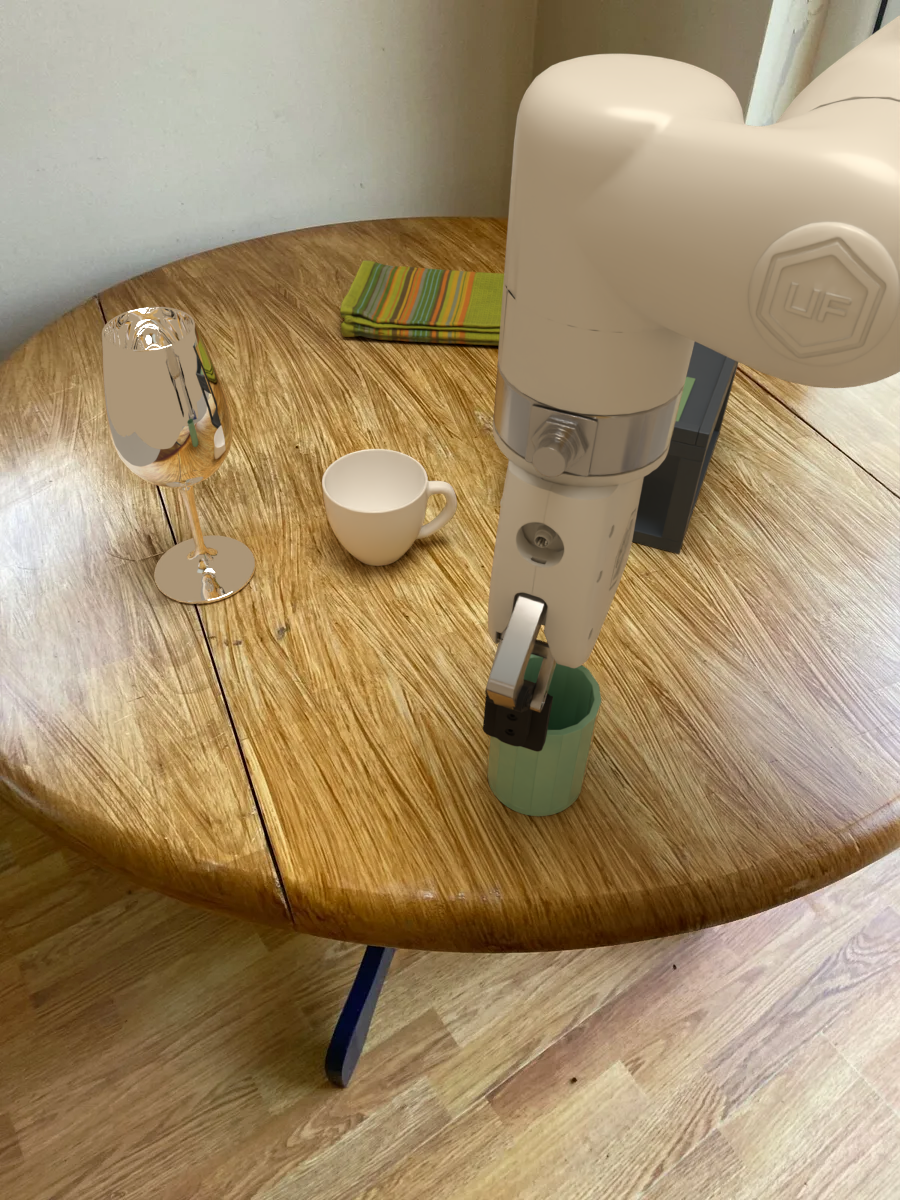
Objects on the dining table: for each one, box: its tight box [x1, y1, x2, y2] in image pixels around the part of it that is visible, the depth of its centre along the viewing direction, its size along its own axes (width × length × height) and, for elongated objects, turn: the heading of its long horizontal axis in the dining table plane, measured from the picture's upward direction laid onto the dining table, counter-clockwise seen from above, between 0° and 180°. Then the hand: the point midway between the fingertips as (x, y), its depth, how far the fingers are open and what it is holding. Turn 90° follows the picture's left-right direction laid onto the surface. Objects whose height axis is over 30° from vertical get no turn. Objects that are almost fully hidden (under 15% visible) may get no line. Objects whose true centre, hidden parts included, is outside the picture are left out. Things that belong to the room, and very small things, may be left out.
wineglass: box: [101, 306, 257, 605], centre depth 62 cm, size 8×8×20 cm
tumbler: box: [486, 654, 602, 817], centre depth 53 cm, size 6×6×8 cm
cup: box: [321, 448, 458, 567], centre depth 69 cm, size 8×10×7 cm
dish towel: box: [339, 259, 504, 346], centre depth 98 cm, size 15×36×3 cm, turn 85°
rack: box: [632, 342, 739, 555], centre depth 75 cm, size 14×18×11 cm
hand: (542, 672), depth 50 cm, fingers open, 9 cm apart
